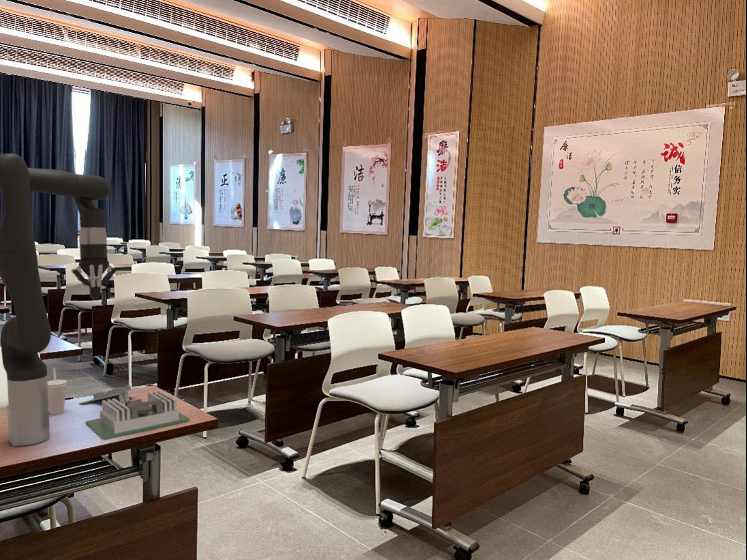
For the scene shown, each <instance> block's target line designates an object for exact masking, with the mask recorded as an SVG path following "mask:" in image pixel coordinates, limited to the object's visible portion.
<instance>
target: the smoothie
mask: <svg viewBox="0 0 747 560" xmlns="http://www.w3.org/2000/svg"><path fill="white" fill-rule="evenodd" d="M52 371H53V379H52V380H47V382H48V404H49V415H51V416H56V415H57V416H58V415H61V414H63V413H64V412H65V403H66V390H67V385H68V380H66V379H57V373H56V367H53V370H52Z"/></svg>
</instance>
